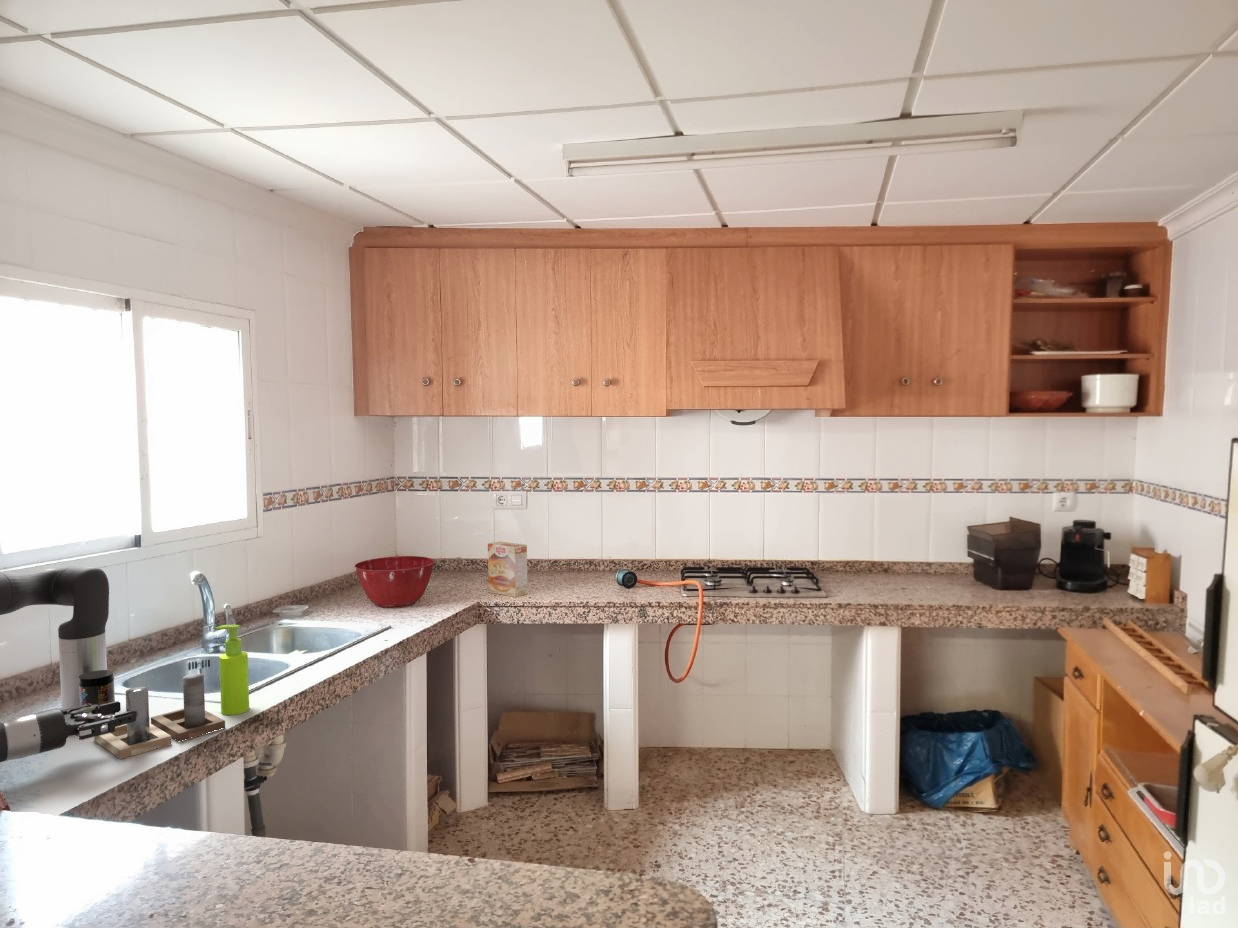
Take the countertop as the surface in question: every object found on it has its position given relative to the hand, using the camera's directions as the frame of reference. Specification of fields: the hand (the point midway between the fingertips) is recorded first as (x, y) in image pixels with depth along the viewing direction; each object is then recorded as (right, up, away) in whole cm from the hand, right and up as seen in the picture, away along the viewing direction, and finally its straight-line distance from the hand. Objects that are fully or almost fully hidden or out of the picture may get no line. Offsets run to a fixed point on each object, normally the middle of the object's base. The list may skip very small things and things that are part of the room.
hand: (127, 710), depth 165 cm
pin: (+1, -8, +2) cm, 8 cm away
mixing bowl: (+18, -1, +133) cm, 134 cm away
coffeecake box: (+57, 0, +150) cm, 160 cm away
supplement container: (-17, -8, +18) cm, 26 cm away
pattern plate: (+5, -7, +13) cm, 16 cm away
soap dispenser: (+11, -7, +23) cm, 26 cm away
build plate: (-2, -8, +4) cm, 9 cm away
